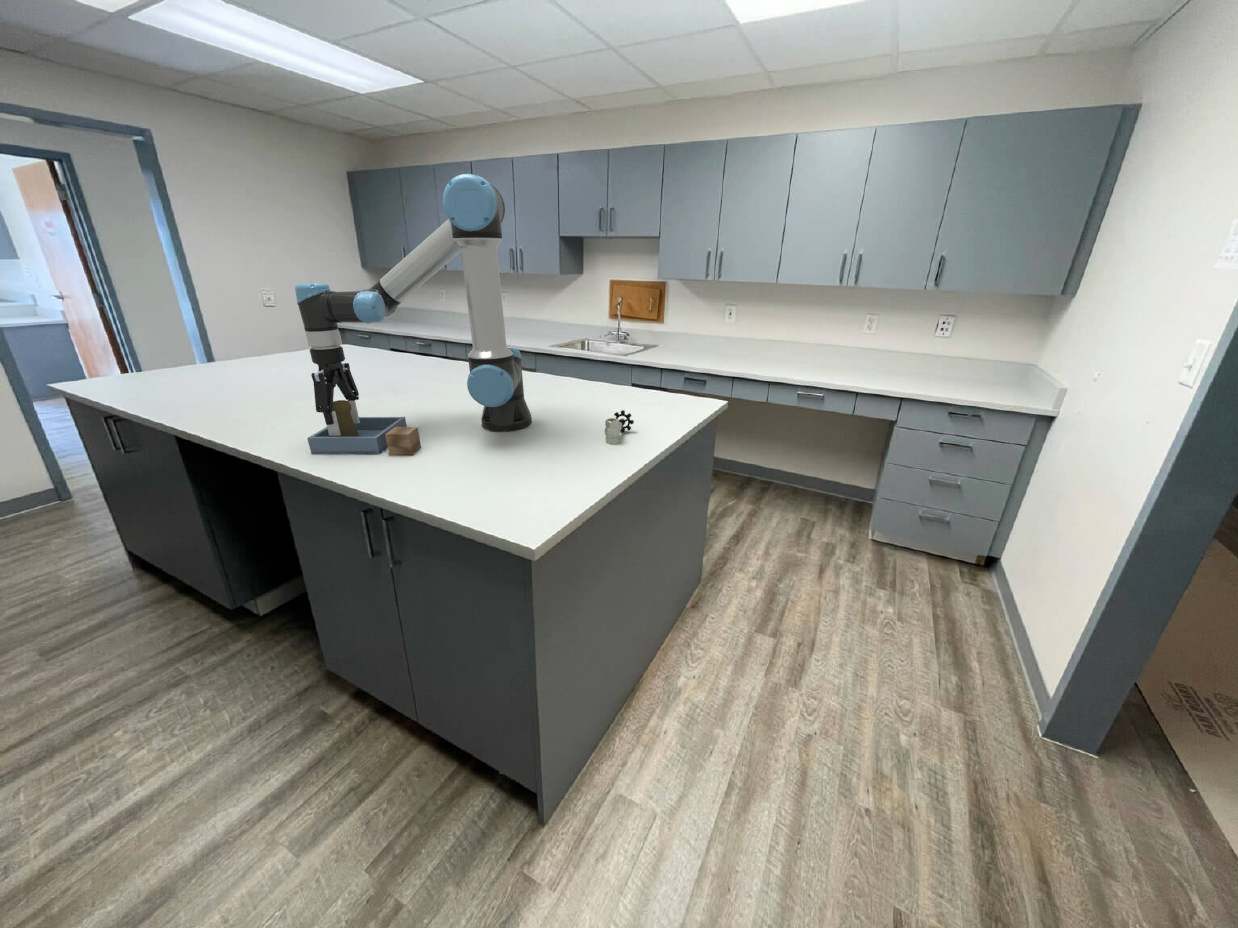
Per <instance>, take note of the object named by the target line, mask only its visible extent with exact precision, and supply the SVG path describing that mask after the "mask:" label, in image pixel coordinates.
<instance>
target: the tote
mask: <svg viewBox="0 0 1238 928" xmlns="http://www.w3.org/2000/svg"><path fill="white" fill-rule="evenodd" d="M359 420H360V423H354V424H355V427H356V429H357V432H358V435H359V437H335V436H329V433H328V429H327V426H326V427H323V428H322V429H320V430H318V431H317V432H315V433H313V434H312V435H310V436H308V437H307V438H306V439H307V443H308V445H309V446H308V447H309V450H310V454H311V455H381V454H382V453H383V452H384V451H386V450H388V446H387V441H386V436H385V434H386V433H388V432H389V431H390V430H392V429H393V428H394V427H408V426H407V425H408V424H407V419H406V416H359Z"/></svg>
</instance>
